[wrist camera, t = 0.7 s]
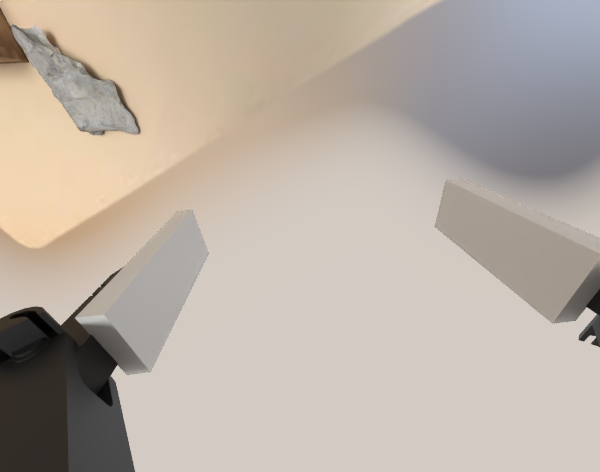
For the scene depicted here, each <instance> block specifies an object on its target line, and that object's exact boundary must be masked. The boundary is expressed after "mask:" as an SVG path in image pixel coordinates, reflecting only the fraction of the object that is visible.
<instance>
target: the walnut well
mask: <svg viewBox="0 0 600 472" xmlns="http://www.w3.org/2000/svg"><path fill="white" fill-rule="evenodd" d="M16 62H29V61H28V59H27V57H26V56H25V54H24V52H23V50H22V48H21V46H20V45H19V43H18V42H17V41H16V39H15V37H14V34H13V32H12V29H11V28H10V26H9V24H8V22H7V20H6V18H5V16H4V15H3V13H2V11H1V9H0V63H16Z"/></svg>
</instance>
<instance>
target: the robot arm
mask: <svg viewBox="0 0 600 472" xmlns="http://www.w3.org/2000/svg"><path fill="white" fill-rule="evenodd" d="M435 227H436V228H437V229H438V230H439V231H441V232H442V233H443V234H444V235H445V236H447V237H448V238H449V239H450V240H451V241H453V242H454V243H455V244H456V245H458V246H459V247H460V248H461V249H463V250H464V251H465V252H466V253H467V254H469V255H470V256H471V257H472V258H473V259H475V260H476V261H477V262H478V263H479V264H481V265H482V266H483V267H484V268H486V269H487V270H488V271H489V272H490V273H492V274H493V275H494V276H495V277H496V278H498V279H499V280H500V281H501V282H503V283H504V284H505V285H506V286H508V287H509V288H510V289H511V290H512V291H514V292H515V293H516V294H517V295H519V296H520V297H521V298H522V299H523V300H524V301H526V302H527V303H528V304H529V305H531V306H532V307H533V308H534V309H536V310H537V311H538V312H539V313H540V314H541V315H543V316H544V317H545V318H546V319H548V320H549V321H550V322H551V323H560V322H568V321H576V320H577V318H578V317H579V316H580V314H581V313H582V312H583V311H584V310H585V308H586V307H588V308H589V309H591V310H592V311H594V312H595V313H597V315H596V316H595V318H594V319H593V320H592V321H591V322H590V323H589V325H588V326H587V327H586V328H585V329H584V330H583V331H582V333H581V334H580V335H579V340H581V341H585V339H587V337H588V336H590V335H592V336H596V339H595V340H594V341H593V342H592V343H591V344H593V345H596V346H599V347H600V238H598V237H596V236H594V235H591V234H589V233H587V232H585V231H582V230H580V229H578V228H575V227H573V226H571V225H568V224H566V223H564V222H561V221H559V220H557V219H554V218H552V217H549V216H547V215H545V214H543V213H540V212H538V211H536V210H533V209H531V208H529V207H526V206H524V205H521V204H519V203H517V202H514V201H512V200H510V199H508V198H505V197H503V196H500V195H498V194H496V193H494V192H491V191H489V190H487V189H484V188H482V187H480V186H477V185H475V184H473V183H470V182H468V181H466V180H463V179H461V178H459V179H451V180H446V182H445V186H444V190H443V194H442V198H441V203H440V207H439V211H438V216H437V220H436V223H435ZM208 254H209V253H208V250H207V248H206V245H205V242H204V240H203V237H202V234H201V232H200V229H199V226H198V224H197V221H196V218H195V216H194V213H193V210H186V211H177V212H176V213H175V214H174V215H173V217H172V218H171V219H170V220H169V221H168V222H167V223H166V224H165V225H164V226H163V227H162V228H161V229H160V230H159V231H158V232H157V233H156V234H155V235H154V236H153V237H152V238H151V239H150V240H149V241H148V242H147V244H146V245H145V246H144V247H143V248H142V249H141V250H140V251H139V252H138V253H137V254H136V255H135V256H134V257H133V258H132V259H131V260H130V261H129V262H128V263H127V264H126V265H125V266H124V267H123V268H121V269H120V270H118V271H117V272H115V273H114V274H112V275H111V276H110V277H109V278H108V279H107V280H106V281H105V282H104V283H103V284H102V285H101V287H99V288H98V289H97V290H96V291H95V292H94V293H93V296H90V297H89V298H88V299H87V300H86V301H85V302H84V303H83V304H82V305H81V306H80V307H79V308H78V309H77V310H76V311H75V312H74V313H73V314H72V315H71V316H70V317H69V318H68V319H67V320H66V321H65V322H64V323H63V324H62V325H61V326H60V325H59V324H58V323H57V322H56V321H55V320H54V319H53V318H52V317H51V316H50V315H49V314H48V313H47V312H46V311H45V310H44V309H43V308H42V307H30V308H25V309H22V310H19V311H16V312H14V313H11V314H9V315H7V316H5V317H3V318H1V319H0V472H135V470H134V466H133V461H132V456H131V451H130V447H129V442H128V437H127V433H126V428H125V424H124V419H123V414H122V410H121V405H120V400H119V396H118V391H117V387H116V383H115V381H114V380H113V378H112V377H111V374H112V372H113V371H114V369H115V368H116V366H117V365H118V366H119V367H120V368H121V369H122V370H123V371H124V372H125V373H126V374H127V375H130V374H139V373H146V372H151V370H152V368H153V366H154V364H155V362H156V360H157V358H158V356H159V354H160V352H161V350H162V347H163V346H164V344H165V342H166V340H167V338H168V335H169V333H170V331H171V329H172V327H173V325H174V323H175V321H176V319H177V317H178V315H179V313H180V311H181V309H182V307H183V305H184V303H185V301H186V299H187V297H188V295H189V293H190V290H191V288H192V287H193V284H194V282H195V280H196V278H197V276H198V274H199V272H200V270H201V268H202V266H203V264H204V262H205V260H206V258H207V256H208Z"/></svg>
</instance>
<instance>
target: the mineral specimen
mask: <svg viewBox="0 0 600 472" xmlns="http://www.w3.org/2000/svg"><path fill="white" fill-rule="evenodd" d="M11 28H12V32H13V34H14V37H15V39H16V41H17V42H18V43H19V45H20V46H21V47H22V48H24V49H25V51H26V54H27V56H28V57H29V60H30V62H31V64H32V66H33V67H34V68H36V69H37V71H38V72H39V74H40V75H41V76H42V78H43V79H44V81H45V82H46V83H47V84H48V85H49V87H50V88H51V89H52V92H53V94H54V96H55V97H56V98H57V99H58V100H59V101H60V102H61V103H62V104H63V107H64V108H65V109H66V111H67V112H68V114H69V116H70V117H71V118H72V120H73V122H74V123H75V124H76V126H77V128H78V129H79V130H80V131H84V132H89V133H90V134H91V135H102V133H103V130H115V131H124V132H126V133H130V134H138V133H139V130H138V127H137V126H136V124H135V119H134V118H133V117H132V114H131V113H130V112H129V111H128V110H126V109H125V107H124V106H123V104H122V103H121V101H120V98H119V96H118V94H117V90H116V87H115V82H112V81H111V80H108V79H107V80H97V79H94V78H93V77H92V76H91V75H89V74H88V72H87V71H86V69H85V67H84V66H83V65H82V64H81V63H79V62H77V61H75V60H73V59H71V58H69V57H67V56H64V55H63V53H62V52H61V51H60V50H59V48H57V47H55V46H53V45H51V44H50V43H49V41H48V39H47V37H46V34H45V33H44V32H43V31H42V30H41V29H40V28H39V27H37V26H36V25H34V26H33V27H32V28H31V29H20V28H18V27H17V26H16V25H13V24H12V26H11Z"/></svg>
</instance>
